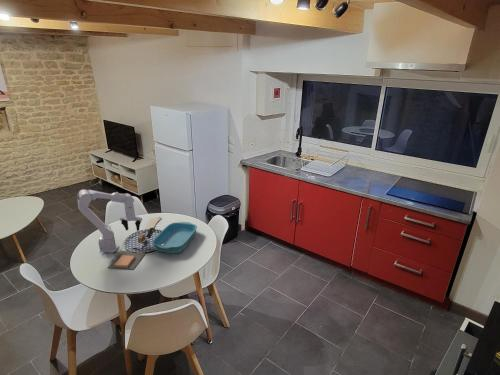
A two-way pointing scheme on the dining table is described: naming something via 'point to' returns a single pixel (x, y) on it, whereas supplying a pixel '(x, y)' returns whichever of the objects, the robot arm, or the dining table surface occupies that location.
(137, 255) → the mat
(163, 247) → the casserole dish
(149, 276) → the dining table surface
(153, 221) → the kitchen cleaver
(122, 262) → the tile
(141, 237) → the tall cardboard box
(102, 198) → the robot arm
